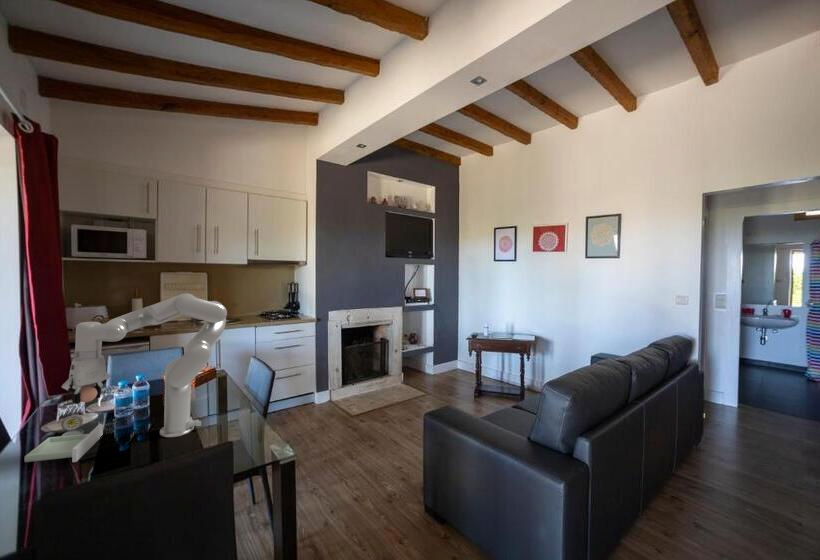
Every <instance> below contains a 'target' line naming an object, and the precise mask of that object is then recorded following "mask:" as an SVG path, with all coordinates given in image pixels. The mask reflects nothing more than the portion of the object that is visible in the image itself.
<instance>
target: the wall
mask: <svg viewBox="0 0 820 560" xmlns="http://www.w3.org/2000/svg"><path fill="white" fill-rule="evenodd" d="M103 427H104V425H103V423H99V424H97V426H96V427H94V429H92V430H91V431H90V432H89V433H87V434H88V435H87V436H86V437H85V438H84V439H83V440H82V441H81V442H79V443H78V444H77V445H76V446H75V447H74V448H73V449H72V457H71V458H72V459H71V461H72V463H77V462H78V461H79V460H80V459H81V458H82V457H83V456H84V455H86V453H87V452H88V451H89V450H90V449H91V448H92V447H93V446H94V445H95V444H96V443H97V442H98V441H99V440H100V439H101V438H102V437H103V436H104V435H103V434H104V433H103V432H104V429H103ZM102 435H103V436H102ZM101 436H102V437H101ZM100 437H101V438H100Z"/></svg>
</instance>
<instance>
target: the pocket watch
mask: <svg viewBox="0 0 820 560" xmlns="http://www.w3.org/2000/svg"><path fill="white" fill-rule="evenodd" d="M72 410H73V411H72ZM74 410H75V411H74ZM70 411H71V412H70ZM76 412H77V409H76V408H72V409H69V410H68V411H67V413H69V414H71V415H68V416H66V417H65V418H64V419H63V420H62V422H61V428H62V429H63V430H64V431H66V432H64V433H62V434H61V436H71V435H82V434H84V430H83V429H79V428H81V427H82V425H83V423H84V419H83V416H82V415H79V414H75V413H76Z"/></svg>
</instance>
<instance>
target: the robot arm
mask: <svg viewBox="0 0 820 560" xmlns="http://www.w3.org/2000/svg"><path fill="white" fill-rule="evenodd" d="M227 315H228V311H227V307H225V306H224V305H223V304H222V303H221V302H219V301H217V300H210V301H209V300H205V299H202V298H198V297H196V296H194V295H193V294H191V293H187V292H186V293H181V294H178V295H176V296H172V297H171V298H168V299H165V300H162V301H159V302H157V303H154V304H151V305H148V306H145V307H142V308H140V309H137V310H134V311H131V312H129V313H126V314H125V313H124V314H123V315H120V316H117V317H115V318H112V319H110V320H108V321H107V322H106V323H101V322H99V321H85V322H84V321H82V322H79V323H77V325H76V326H75V342H74V343H75V346H74V349H75V350H74V353H71V354H70V357H71V358H73V359H72V361H71V365H70V370H69V374H68V379H67V380H66V381H65V382H64V383H63V384H62V385H61V388H62V389H64V390H66V391H67V392H69V393H70V394H71V402H72V403H73V404H75V405H80V404H81V402H80V393H79V390H80V389H81V388H82V387H86V386H90V385H93V384H94V386H93V387H94V388H96V390H97V396H96V397H95V398H96V399H101V395H102V388H103V387H104V385H105V384H106V382H107V381H108V380H109V379H110V378H111V377H112V376H111V374H110V373H108V372H107V365H106V359H105V355H102V345H103V342H109V343H110V342H113V343H114V342H118V341H121V340H123V339H124V338H125V337H126V335H127V333H129V332H133V331H134V330H135V331H136V330H137V329H140V328H144V327H147V326H157V325H160V324H164V323H166V322H169V321H171V320H173V319H175V318H178V317H181V316H184V317H185V316H186V317H189V318H192V319H196V320H200V321H204V323H203V325H202V326H201V328H200V329H199V330H198V332H197V333H196V334H195V335H194V336H193V337H192V338H191V340H190V341H188V343H187V344H186V345H185V346H184V349H183V352H184V354H183V355H182V356H181V357H180V358H176V359H173V360H171V361H169V362H168V364H167V365H166V367H165V369H164V411H163V412H164V414H163V415H164V416H163V417H164V418H163V419H164V420H163V423H164V424H163V425H164V426H163V427H161V428H160V430H159V435H160V436H161V437H164V438H176V437H181V436H183V435H187V434H189V433H191V432H192V431H193V430H194V428H195V427H200V426H201V425H202V421H201V420H200V419H193V416H191V397H192V393H191V392H192V391H191V390H192V387H191V386H192V382H193V380H194V379H195V378H196V377H197V376H198V375H199V373H200V372H202V369H203V368H204V367H205V366H206V365H207V363H208V362H209V360H210V358H211V356H212V350H211V349H212V347H213V346H214V345H215V344H216V342H217V341H218V339H219V338H220V337H221V336H222V334H223V332H224V330H225V328H226V323H227ZM71 386H72V387H71Z"/></svg>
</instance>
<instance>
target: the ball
mask: <svg viewBox="0 0 820 560" xmlns="http://www.w3.org/2000/svg"><path fill="white" fill-rule="evenodd" d="M94 387H95V386H91V385H85V386H82V387H81V388H80V390H79V393H80V403H89V402H91V401H93V400H95V398H96V396H97V390H96V388H94Z"/></svg>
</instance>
